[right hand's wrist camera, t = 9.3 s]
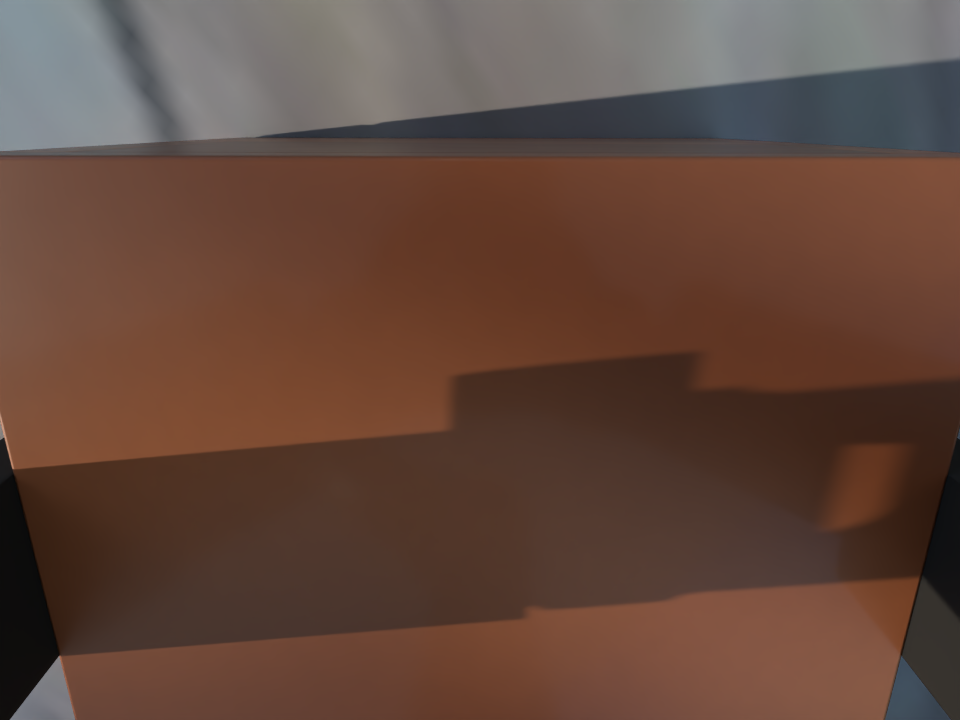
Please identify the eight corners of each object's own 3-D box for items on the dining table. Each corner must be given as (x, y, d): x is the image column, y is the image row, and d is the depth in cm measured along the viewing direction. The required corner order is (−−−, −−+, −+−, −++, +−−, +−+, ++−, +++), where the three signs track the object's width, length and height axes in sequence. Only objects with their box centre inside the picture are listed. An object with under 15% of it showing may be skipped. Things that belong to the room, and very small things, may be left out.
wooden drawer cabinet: (657, 709, 21) (783, 1123, 13) (301, 708, 21) (175, 1122, 13) (721, 138, 16) (1032, 157, 7) (239, 137, 16) (-71, 154, 7)
